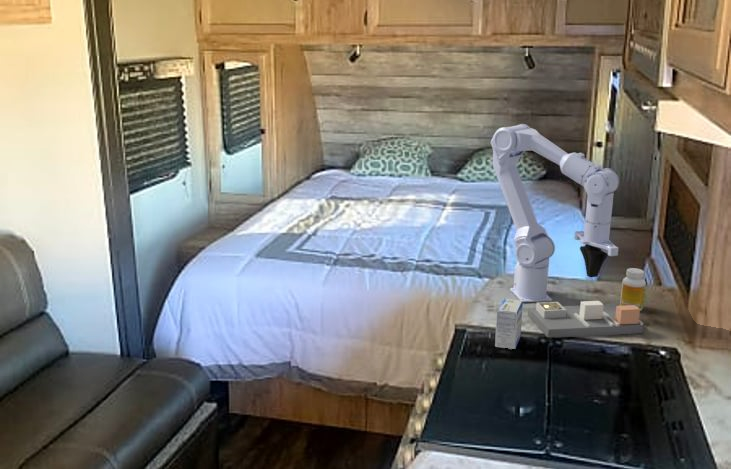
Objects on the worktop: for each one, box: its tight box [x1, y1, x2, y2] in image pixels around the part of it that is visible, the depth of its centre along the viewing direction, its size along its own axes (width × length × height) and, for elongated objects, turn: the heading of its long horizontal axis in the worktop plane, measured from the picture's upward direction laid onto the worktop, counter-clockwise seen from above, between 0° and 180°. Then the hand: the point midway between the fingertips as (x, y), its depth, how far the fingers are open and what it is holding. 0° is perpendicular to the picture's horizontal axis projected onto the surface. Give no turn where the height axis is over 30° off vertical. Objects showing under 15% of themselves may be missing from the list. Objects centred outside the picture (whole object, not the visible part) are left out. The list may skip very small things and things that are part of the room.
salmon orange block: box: [615, 305, 641, 324], centre depth 168 cm, size 2×4×4 cm, turn 98°
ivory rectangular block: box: [579, 300, 604, 320], centre depth 171 cm, size 2×4×4 cm, turn 98°
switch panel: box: [527, 301, 644, 339], centre depth 172 cm, size 13×22×4 cm, turn 98°
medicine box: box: [494, 298, 524, 350], centre depth 161 cm, size 8×4×9 cm, turn 160°
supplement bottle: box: [619, 267, 647, 311], centre depth 182 cm, size 5×5×10 cm
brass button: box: [543, 301, 559, 310], centre depth 173 cm, size 4×4×2 cm
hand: (592, 276), depth 177 cm, fingers closed
